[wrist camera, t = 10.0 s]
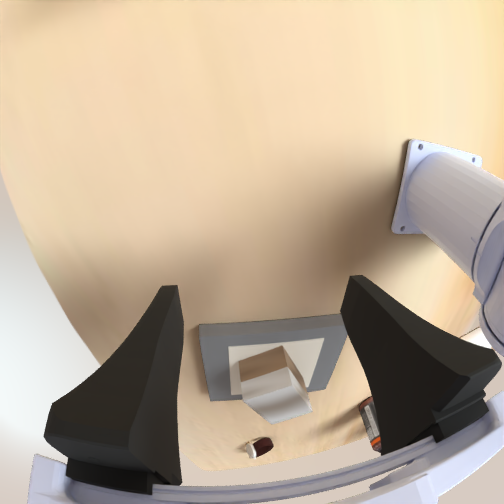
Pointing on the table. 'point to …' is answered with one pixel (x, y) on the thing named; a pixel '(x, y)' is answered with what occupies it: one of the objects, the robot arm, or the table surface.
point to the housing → (274, 386)
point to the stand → (266, 338)
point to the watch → (259, 447)
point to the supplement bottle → (371, 423)
